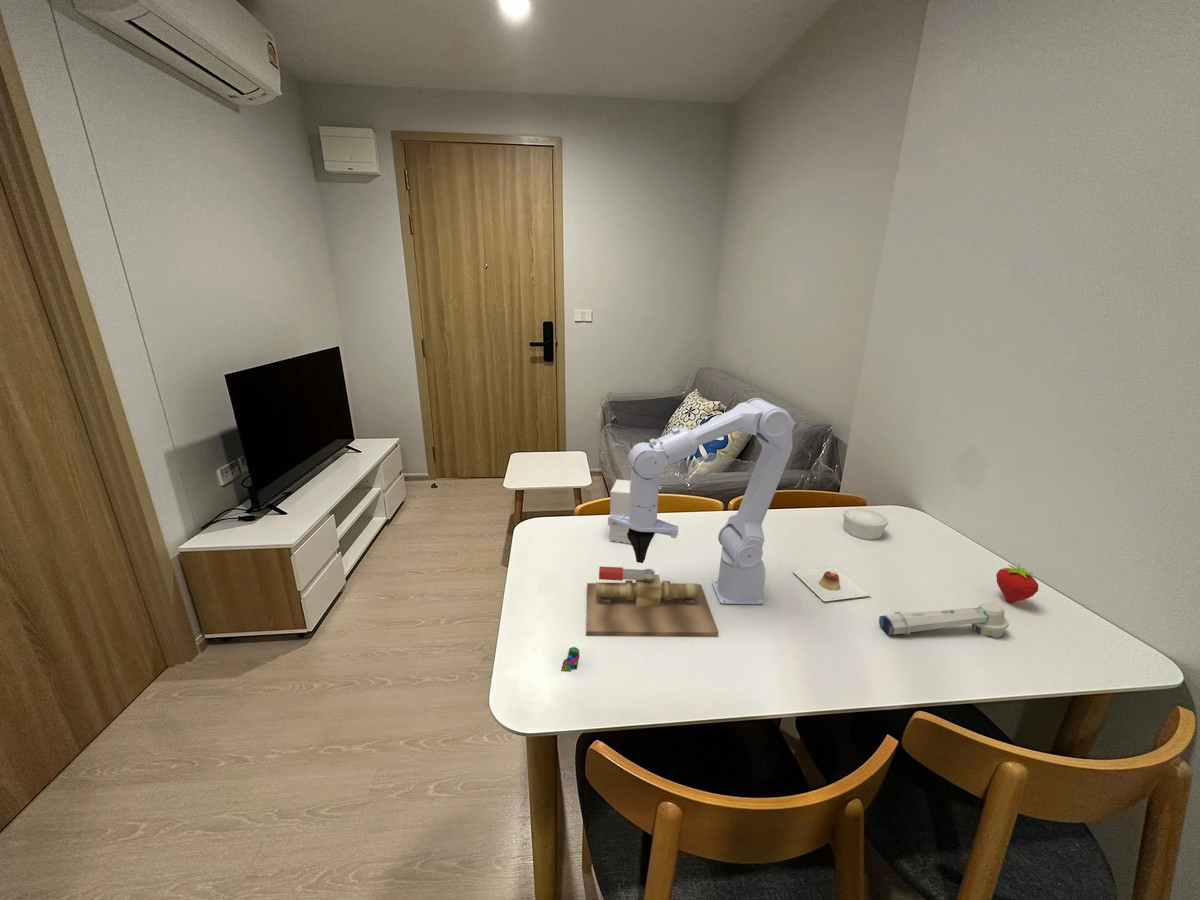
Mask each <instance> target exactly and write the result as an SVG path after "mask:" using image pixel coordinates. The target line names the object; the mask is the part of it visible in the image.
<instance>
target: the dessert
mask: <svg viewBox="0 0 1200 900" xmlns="http://www.w3.org/2000/svg"><path fill="white" fill-rule="evenodd" d="M792 573H794V574H795V575H796V576H797V577H798V578H799V579H800V580H801V581H802V582H803V583H804V584H805V585H806V586H807V587H808V588H809V589H810V590H811V591H812V592H814V594H815V595H817V596H818V597H819V599H821V600H822V601H823V602H830V601H831V602H832V601H840V600H847V599H857V598H864V597H871V594H869V592H867V591H866V590H864V588H862V587H861V586H860V585H858V584H857V583H856V582H855V581H854V580H852V579H851V578H850V577H849V576H847V575H846V574H845V573H844V572H843V571H841V569H839V568H838V567H837V566H827V567H819V568H808V569H797V570H792ZM819 574H823V575H822V576H821V578H820V580H819V581H818V584H819V585H820V587H821V588H823V589H825V590H828V591H834V592H835V591H837V592H838V591H839V590H840V589H841V585H840V584H841V583H840V579H842V580H843V581H845V583H846V584H848V585H849V586H850V587H851V588H852V589H854V590H855V591H857V592H858V594H857V595H850V596H849V595H848V596H841V597H833V598H824V597H823V596H822V595H821V594H820V593H819V592H818V591H817V590H816V589H815V588H813V587H812V585H810V583H808V582H807V581H806V580H805V579H804V578H803V577H802V576H808V575H819Z"/></svg>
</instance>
